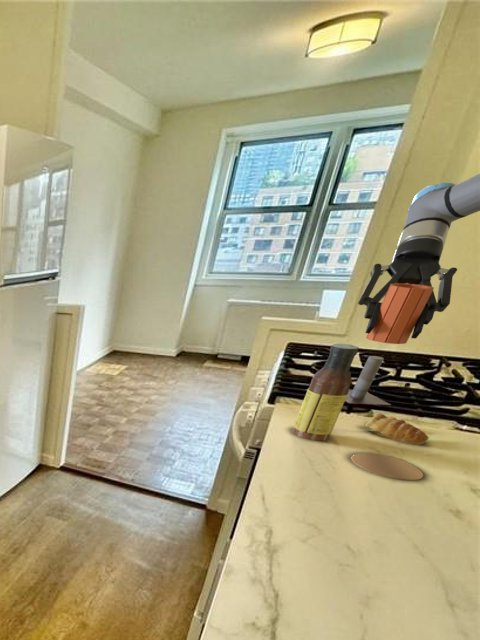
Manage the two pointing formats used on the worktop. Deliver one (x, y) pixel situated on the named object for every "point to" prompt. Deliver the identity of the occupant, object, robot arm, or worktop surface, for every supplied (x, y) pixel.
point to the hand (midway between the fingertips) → (392, 332)
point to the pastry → (396, 430)
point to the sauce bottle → (326, 395)
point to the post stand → (366, 384)
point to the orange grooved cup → (399, 313)
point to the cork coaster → (387, 466)
